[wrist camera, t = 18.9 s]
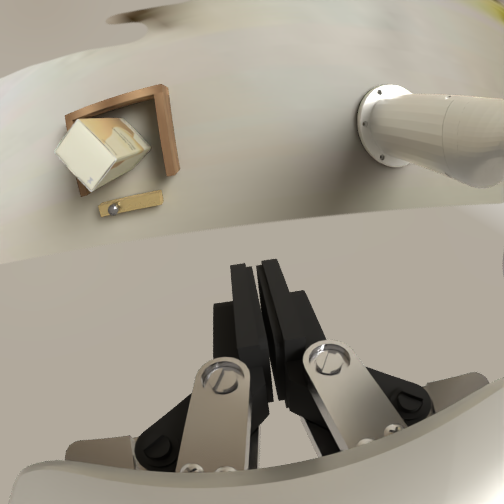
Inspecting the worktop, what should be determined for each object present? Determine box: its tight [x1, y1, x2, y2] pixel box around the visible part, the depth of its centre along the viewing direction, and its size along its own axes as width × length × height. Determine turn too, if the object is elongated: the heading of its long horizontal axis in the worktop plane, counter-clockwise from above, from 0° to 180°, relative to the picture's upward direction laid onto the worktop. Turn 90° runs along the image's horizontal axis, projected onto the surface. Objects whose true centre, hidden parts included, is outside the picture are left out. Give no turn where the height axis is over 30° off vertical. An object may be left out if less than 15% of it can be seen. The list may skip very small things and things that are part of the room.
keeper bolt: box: [98, 190, 164, 217], centre depth 33 cm, size 9×2×3 cm, turn 96°
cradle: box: [65, 84, 180, 197], centre depth 29 cm, size 13×11×4 cm
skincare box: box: [54, 118, 151, 192], centre depth 25 cm, size 6×4×12 cm
